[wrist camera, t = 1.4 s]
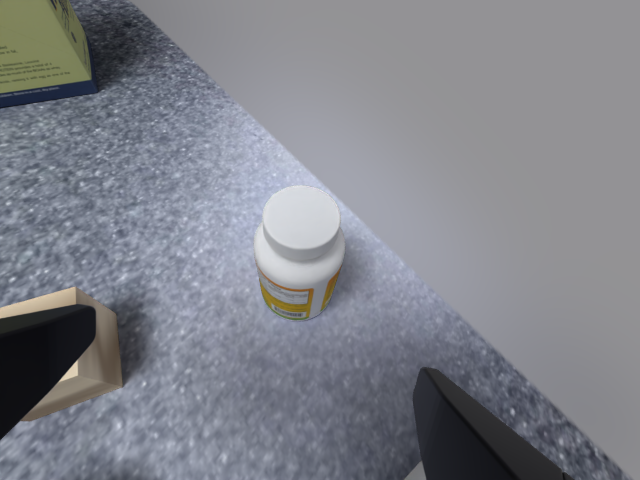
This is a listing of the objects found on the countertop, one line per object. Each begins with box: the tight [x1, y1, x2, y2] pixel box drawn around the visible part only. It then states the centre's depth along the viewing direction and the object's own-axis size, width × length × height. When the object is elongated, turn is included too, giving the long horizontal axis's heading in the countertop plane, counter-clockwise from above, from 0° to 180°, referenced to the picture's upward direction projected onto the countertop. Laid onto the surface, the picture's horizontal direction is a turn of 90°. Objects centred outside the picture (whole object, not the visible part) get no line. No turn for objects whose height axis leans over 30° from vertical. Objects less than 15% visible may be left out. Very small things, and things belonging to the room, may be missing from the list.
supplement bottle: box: [253, 185, 345, 321], centre depth 20 cm, size 5×5×10 cm
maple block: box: [0, 287, 123, 421], centre depth 18 cm, size 5×5×5 cm
